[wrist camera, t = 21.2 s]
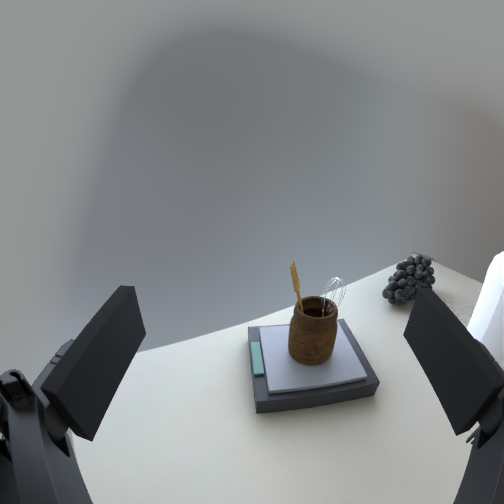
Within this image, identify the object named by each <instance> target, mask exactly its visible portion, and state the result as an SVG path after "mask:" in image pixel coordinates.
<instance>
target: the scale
mask: <svg viewBox="0 0 504 504" xmlns="http://www.w3.org/2000/svg"><path fill="white" fill-rule="evenodd" d="M337 323H338V329H337V335H336V340H335V345H334V349H333V352H332V354H331V356H330V357H329V359H328V360H326V361H325V362H323V363H321V364H317V365H305V364H302V363H299V362H297V361H296V360H294V359H293V358H292V357H291V355H290V354H289V351H288V337H289V327H290V324H287V325H273V326H256V327H248V342H249V351H250V361H251V371H252V380H253V389H254V398H255V407H256V413H267V412H278V411H287V410H296V409H303V408H310V407H316V406H323V405H328V404H334V403H339V402H344V401H349V400H353V399H358V398H362V397H366V396H370V395H374V394H375V392H376V389H377V387H378V385H379V383H380V382H379V380H378V378H377V376H376V375H375V373H374V371H373V369H372V367H371V366H370V364H369V362H368V360H367V358H366V357H365V355H364V353H363V351H362V350H361V348H360V346H359V344H358V343H357V341H356V339H355V338H354V336H353V334H352V332H351V331H350V329H349V327H348V326H347V324H346V322H345V321H344V319H339V320H337Z"/></svg>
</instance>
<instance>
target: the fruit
mask: <svg viewBox="0 0 504 504" xmlns="http://www.w3.org/2000/svg"><path fill="white" fill-rule="evenodd" d="M430 265H431V259H430V258H425V257H422V256H421V255H418V256H417V257H416V258H415V259H414V258H413V257H412V256H411V257H408V258H407V262H405V261H404V262H402V263H399V264H398V265H397V267H396V269H397V270H398V271H397V272H396V273H394V275H393V276H391V277H390V278H389V279H388V281H389V285H388V286H386V288H385V289H384V290H383V292H382V296H383V297H384V298H386V299H387V298H388V302H389V303H391V304H395V303H396V301H397V299H402V301H404V302H407V301H408V300H409V296H410V298H411V299H414V298H416V295H417V292H418V289H424V288H431V289H432V286H431V284H434V283H435V278H434V276H432V275H433V273H434V269H433V268H432V267H429V266H430Z"/></svg>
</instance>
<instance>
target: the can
mask: <svg viewBox="0 0 504 504" xmlns="http://www.w3.org/2000/svg"><path fill="white" fill-rule="evenodd" d="M467 330H468V331H469V332H470V334H471V335H472V336H473V337H474V339H477V340H478V341H479V342H481V343H482V344H483V345H485V347H486V348H487V349H488V351H489V352H490V355H491V354H492V356H493V357H494V358H495V361H497V362H498V364H499V365H500V366H501V368H502V369H503V371H504V252H502V253H500V254H498V255H497V256H495V257H494V259H493V261H492V263H491V264H490V266H489V269H488V271H487V275H486V278H485V281H484V284H483V287H482V290H481V293H480V296H479V299H478V301H477V304H476V307H475V309H474V312H473V314H472V317H471V319H470V322H469V324H468V326H467Z"/></svg>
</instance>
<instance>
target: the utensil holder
mask: <svg viewBox="0 0 504 504" xmlns="http://www.w3.org/2000/svg"><path fill="white" fill-rule="evenodd" d="M290 269H291V275H292V280H293V286H294V290H295V292H296V293H297V298H298V302H297V303H296V305H295V308H294V315H293V317H292V319H291V322H290V327H289V337H288V351H289V354H290V355H291V357H292V358H293V359H294V360H296V361H297V362H299V363H302V364H305V365H317V364H321V363H323V362H325V361H326V360H328V359H329V357H330V356H331V354H332V352H333V349H334V345H335V340H336V335H337V329H338V323H337V317H338V309H337V307H338V306H339V305H337V306H336V304H335V303H334V302H332V301H331V299H330V300H329V299H327V298H324V297H319V296H309V297H305V298H302V299H301V297H300V292H299V286H300V285H299V280H298V275H297V271H296V267H295V263H294V261H293V264H291V266H290ZM337 279H338V280H341V281H342V279H339V278H337ZM338 280H337V281H338ZM338 282H339V281H338ZM343 283H344V282H343ZM345 287H346V285H345ZM329 288H330V287H329ZM342 288H343V287H342ZM336 290H337V289H336ZM341 291H342V290H341ZM345 291H346V289H345ZM333 292H334V291H333ZM335 292H336V291H335ZM342 293H343V291H342ZM340 294H341V293H340ZM344 294H345V293H344ZM326 295H327V294H325V297H326ZM332 295H333V294H332ZM334 295H335V294H334ZM322 296H323V295H322ZM339 296H340V295H339ZM341 296H342V295H341ZM343 297H344V296H343ZM331 298H332V296H331ZM333 298H334V297H333ZM340 299H341V298H340ZM342 299H343V298H342ZM332 300H333V299H332ZM337 300H338V299H337ZM341 301H342V300H341ZM336 302H337V301H336ZM339 302H340V300H339ZM340 303H341V302H340ZM338 304H339V303H338Z"/></svg>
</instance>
